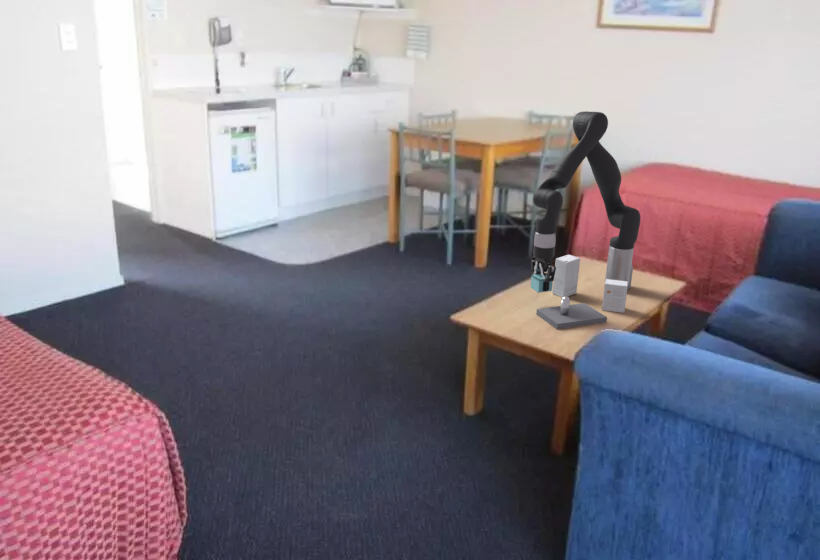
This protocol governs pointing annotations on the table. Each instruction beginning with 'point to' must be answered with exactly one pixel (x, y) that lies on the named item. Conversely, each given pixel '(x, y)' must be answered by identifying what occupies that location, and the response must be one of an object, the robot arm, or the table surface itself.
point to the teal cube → (539, 283)
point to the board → (571, 316)
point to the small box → (615, 295)
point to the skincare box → (566, 275)
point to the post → (565, 305)
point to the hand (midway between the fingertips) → (541, 287)
